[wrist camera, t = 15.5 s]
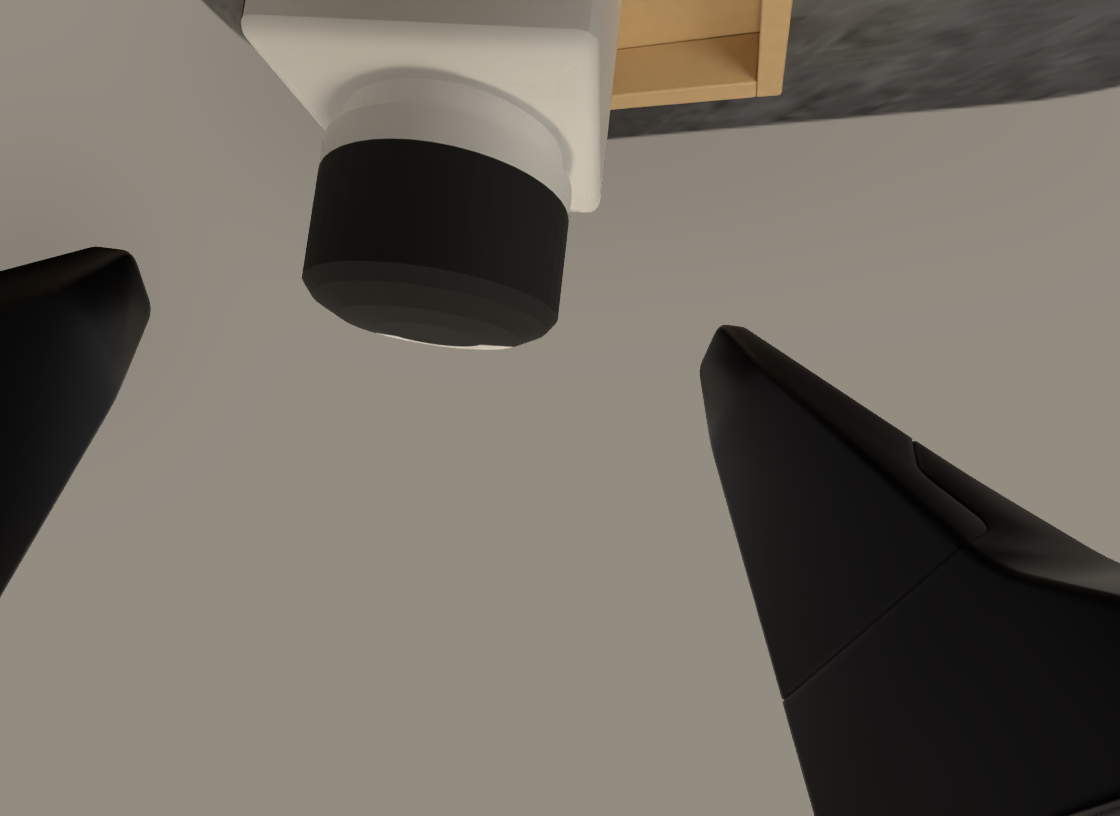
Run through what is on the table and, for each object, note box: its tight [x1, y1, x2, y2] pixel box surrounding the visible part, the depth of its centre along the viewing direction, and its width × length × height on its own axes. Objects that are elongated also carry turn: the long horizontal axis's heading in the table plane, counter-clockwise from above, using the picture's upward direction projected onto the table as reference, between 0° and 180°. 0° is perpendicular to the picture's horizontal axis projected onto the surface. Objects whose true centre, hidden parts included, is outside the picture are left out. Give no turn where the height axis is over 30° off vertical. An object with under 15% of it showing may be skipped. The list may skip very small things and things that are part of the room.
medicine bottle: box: [241, 0, 622, 350], centre depth 14 cm, size 7×7×12 cm
